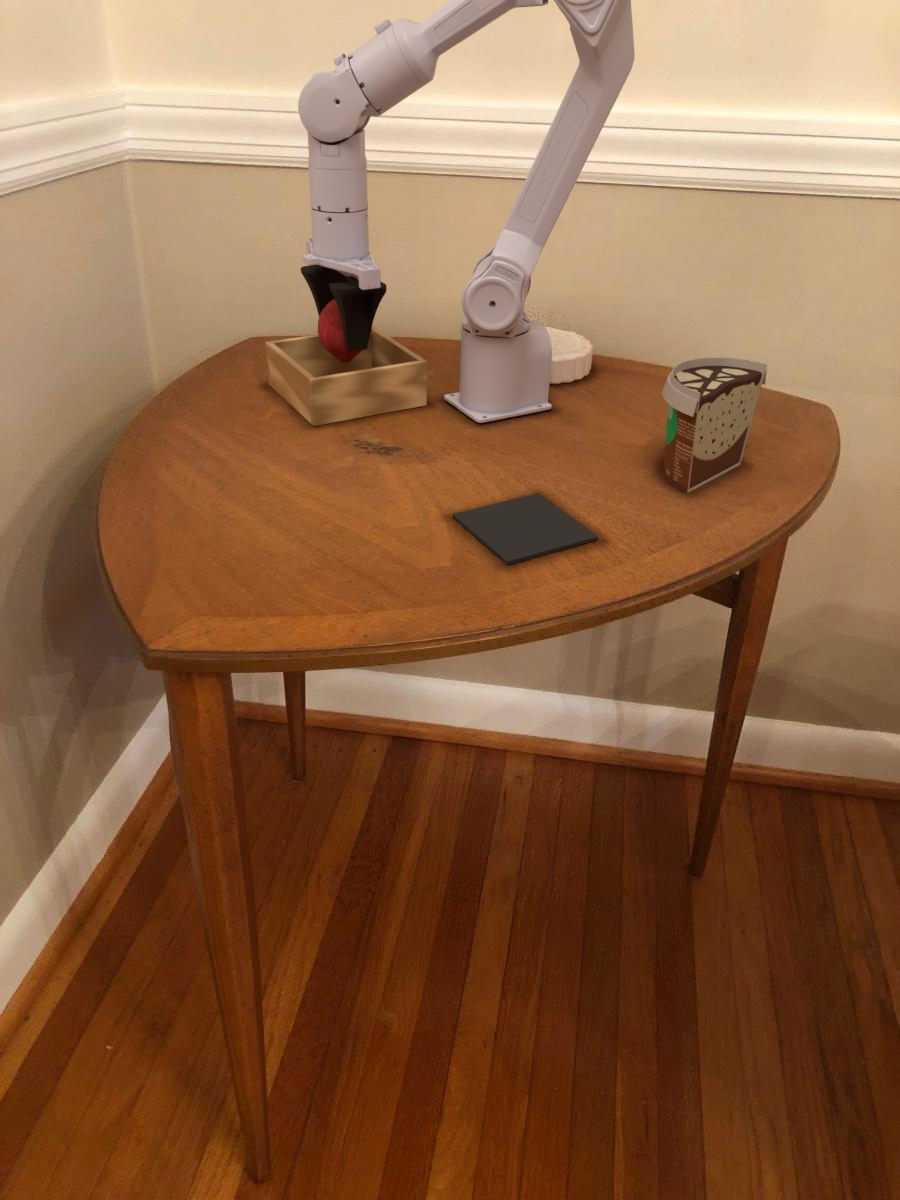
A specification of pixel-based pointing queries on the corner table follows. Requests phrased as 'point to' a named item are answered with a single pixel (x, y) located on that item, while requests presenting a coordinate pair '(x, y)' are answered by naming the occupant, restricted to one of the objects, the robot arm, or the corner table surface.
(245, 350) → the corner table surface
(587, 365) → the mooncake
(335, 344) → the onion
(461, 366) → the robot arm
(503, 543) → the mat
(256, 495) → the corner table surface
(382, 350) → the wooden box
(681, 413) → the food container
